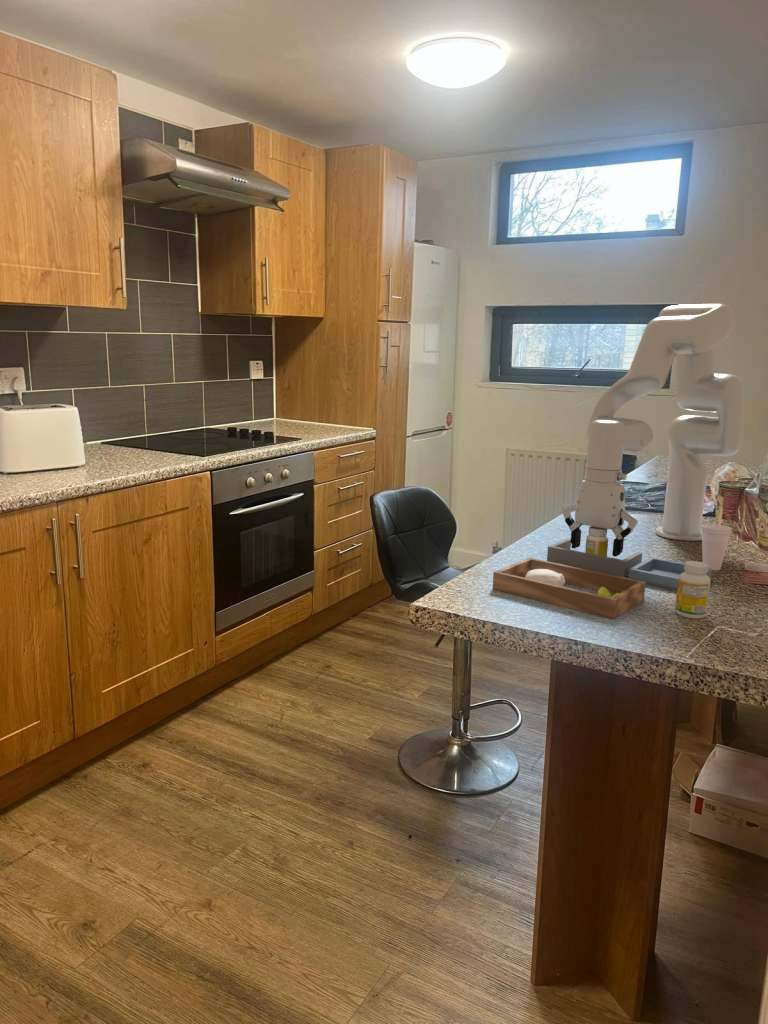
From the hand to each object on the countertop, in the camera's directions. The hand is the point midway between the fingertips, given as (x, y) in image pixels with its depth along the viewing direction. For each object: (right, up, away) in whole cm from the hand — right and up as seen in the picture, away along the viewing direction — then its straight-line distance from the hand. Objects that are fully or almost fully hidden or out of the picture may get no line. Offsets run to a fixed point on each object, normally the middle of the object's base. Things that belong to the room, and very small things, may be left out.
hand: (595, 551), depth 166 cm
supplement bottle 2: (+8, -10, -31) cm, 34 cm away
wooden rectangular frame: (-12, -7, -21) cm, 25 cm away
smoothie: (+26, -4, -1) cm, 26 cm away
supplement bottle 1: (0, -3, +1) cm, 3 cm away
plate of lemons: (-4, -9, -24) cm, 26 cm away
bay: (-1, -3, 0) cm, 3 cm away
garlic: (-15, -7, -17) cm, 24 cm away
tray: (+13, -6, -10) cm, 17 cm away
